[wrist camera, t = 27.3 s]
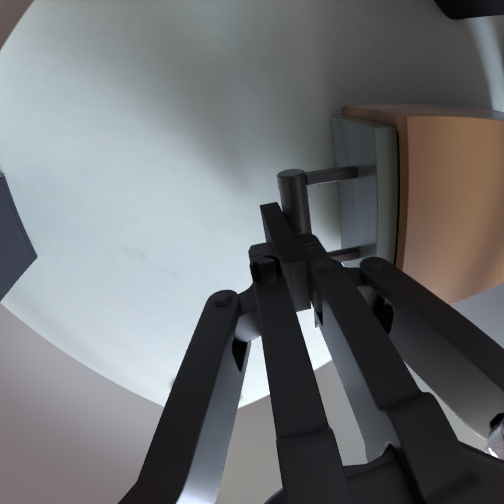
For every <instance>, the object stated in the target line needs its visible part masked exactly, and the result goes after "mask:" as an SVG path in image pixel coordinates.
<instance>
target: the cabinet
mask: <svg viewBox="0 0 504 504" xmlns="http://www.w3.org/2000/svg"><path fill="white" fill-rule="evenodd" d="M343 113H344V116H352V117H357V118H362V119H366V120H371V121H375V122H380V123H384V124H388V125H392V126H395V127H396V130H398V131H399V151H400V213H399V233H398V246H397V258H396V267H397V268H399V269H400V270H401V271H403V272H404V273H406V274H407V275H409V276H410V277H411V278H413V279H414V280H416V281H417V282H418V283H420V284H421V285H423V286H424V287H425V288H427V289H428V290H430V291H431V292H432V293H434V294H435V295H436V296H438V297H439V298H440V299H442V300H443V301H444V302H446V303H447V304H448V305H451V304H453V303H456V302H458V301H461V300H463V299H466V298H468V297H471V296H473V295H476V294H478V293H480V292H483V291H485V290H488V289H490V288H492V287H494V286H496V285H499V284H501V283H503V282H504V112H500V111H496V110H490V109H483V108H474V107H464V106H452V105H436V104H364V105H346V106H343ZM389 304H390V303H389Z"/></svg>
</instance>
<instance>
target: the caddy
mask: <svg viewBox="0 0 504 504" xmlns="http://www.w3.org/2000/svg"><path fill="white" fill-rule="evenodd" d="M36 258H37V255H36V253H35V251H34V249H33V247H32V245H31V242H30V240H29V238H28V236H27V234H26V231H25V229H24V227H23V224H22V222H21V220H20V217H19V215H18V212H17V210H16V207H15V205H14V202H13V199H12V196H11V194H10V191H9V188H8V185H7V182H6V179H5V176H4V177H2V178H0V301H1V300H2V299H3V298H4V296H5V295H6V294H7V292H8V291H9V290H10V289H11V287H12V286H13V285H14V284H15V283H16V281H17V280H18V279H19V278H20V277H21V275H22V274H23V273H24V272H25V271H26V270H27V268H28V267H29V266H30V265H31V264H32V263H33V262H34V260H36Z"/></svg>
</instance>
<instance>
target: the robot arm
mask: <svg viewBox="0 0 504 504" xmlns="http://www.w3.org/2000/svg"><path fill="white" fill-rule="evenodd" d="M260 210H261V215H262V220H263V226H264V231H265V237H266V243H261V244H256V245H252V246H251V247H250V249H249V251H248V253H249V259H250V270H251V275H252V279H253V283H252V285H251V286H250V287H249V288H248V289H247V290H246V291H244V292H242V293H240V294H237V293H236V292H235V291H232V290H221V291H218V292H216V293H214V294H212V295H211V296H210V297H209V298H208V300H207V302H206V304H205V307H204V309H203V312H202V314H201V316H200V319H199V321H198V324H197V326H196V329H195V331H194V334H193V336H192V339H191V341H190V344H189V346H188V349H187V351H186V354H185V356H184V359H183V361H182V364H181V366H180V369H179V371H178V374H177V376H176V379H175V382H174V384H173V387H172V389H171V392H170V394H169V397H168V400H167V402H166V405H165V407H164V410H163V413H162V415H161V418H160V421H159V423H158V426H157V429H156V431H155V434H154V436H153V440H152V442H151V445H150V447H149V450H148V453H147V455H146V458H145V461H144V464H143V466H142V469H141V472H140V475H139V478H138V480H137V482H136V483H135V485H134V486H133V487H132V488H131V489H130V490H129V492H128V493H127V494H126V495H125V496H124V497H123V498H122V499H121V501H120V502H119V503H118V504H215V501H216V498H217V495H218V491H219V486H220V482H221V478H222V473H223V470H224V465H225V461H226V457H227V452H228V447H229V444H230V439H231V435H232V430H233V426H234V421H235V417H236V412H237V408H238V403H239V399H240V394H241V390H242V385H243V380H244V376H245V371H246V366H247V362H248V357H249V352H250V348H251V340H253V339H255V338H257V337H259V336H261V338H262V344H263V351H264V358H265V364H266V371H267V377H268V384H269V391H270V397H271V404H272V410H273V416H274V423H275V429H276V438H277V439H276V444H277V452H278V459H279V466H280V473H281V479H282V486H283V488H281V489H280V490H279V491H277V492H276V493H275V494H274V495H272V496H271V497H270V498H269V499H268V500H267V502H265V504H504V349H503V348H502V347H501V346H500V345H499V344H497V343H496V342H495V341H494V340H493V339H491V338H490V337H489V336H488V335H486V334H485V333H484V332H483V331H482V330H480V329H479V328H478V327H477V326H475V325H474V324H473V323H472V322H470V321H469V320H468V319H467V318H465V317H464V316H463V315H461V314H460V313H459V312H458V311H456V310H455V309H454V308H452V307H451V306H450V305H448V304H447V303H446V302H444V301H443V300H442V299H440V298H439V297H438V296H436V295H435V294H434V293H432V292H431V291H430V290H428V289H427V288H425V287H424V286H423V285H421V284H420V283H418V282H417V281H416V280H414V279H413V278H411V277H410V276H409V275H407V274H406V273H404V272H403V271H401V270H400V269H399V268H397V267H396V266H394V265H393V264H391V263H390V262H388V261H387V260H385V259H383V258H381V257H376V256H373V257H367V258H364V259H363V260H361V262H360V264H359V267H352V268H349V267H343V266H342V264H341V263H340V262H339V261H338V260H336V259H333V258H330V257H329V255H328V253H327V252H326V250H325V249H324V247H323V246H322V244H321V243H320V241H319V240H318V238H317V237H316V236H315V235H313V234H311V233H306V234H301V235H296V236H295V234H294V233H293V231H292V229H291V227H290V225H289V223H288V221H287V219H286V217H285V216H284V215H283V212H282V210H281V208H280V206H279V204H278V203H277V202H275V203H269V204H264V205H260ZM310 300H311V302H310ZM386 301H388V302H389V303H390V304H389V303H387V302H386ZM311 303H312V305H313V308H314V317H315V328H316V327H318V325H319V328H320V330H321V332H322V335H323V337H324V340H325V342H326V344H327V347H328V349H329V352H330V354H331V357H332V359H333V362H334V364H335V366H336V369H337V372H338V374H339V377H340V379H341V382H342V384H343V387H344V389H345V392H346V395H347V397H348V400H349V402H350V405H351V407H352V410H353V413H354V415H355V418H356V421H357V423H358V426H359V429H360V431H361V434H362V436H363V439H364V443H365V449H366V457H367V461H368V463H367V464H362V465H350V466H343V465H342V461H341V457H340V454H339V450H338V446H337V442H336V439H335V436H334V433H333V430H332V429H331V428H330V427H329V424H328V421H327V417H326V414H325V410H324V407H323V403H322V399H321V396H320V393H319V389H318V385H317V382H316V378H315V375H314V371H313V368H312V364H311V361H310V358H309V354H308V351H307V347H306V344H305V341H304V337H303V334H302V331H301V327H300V324H299V321H298V317H297V314H296V312H298V311H302V310H307V309H311ZM404 362H405V363H406V364H407V365H408V366H409V367H410V368H411V369H412V370H413V371H414V372H415V373H416V374H417V375H418V376H419V377H420V378H421V379H422V380H423V381H424V382H425V383H426V384H427V385H428V386H429V387H430V388H431V389H432V390H433V391H434V392H435V393H436V394H437V395H438V396H439V397H440V399H442V401H443V402H444V403H445V404H446V405H447V406H448V407H449V408H450V409H451V410H452V411H453V412H454V413H455V414H456V415H457V416H458V417H459V419H461V421H462V422H463V423H464V424H465V425H466V426H468V427H469V428H470V429H471V430H472V431H473V432H474V433H476V434H477V435H479V436H480V437H482V438H484V439H485V440H487V441H488V443H487V445H486V448H485V452H483V451H481V450H478V449H476V448H474V447H472V446H469V445H467V444H465V443H462V442H460V441H458V439H457V437H456V435H455V433H454V431H453V429H452V427H451V425H450V423H449V421H448V419H447V418H446V416H445V414H444V412H443V410H442V408H441V406H440V405H439V403H438V401H437V400H436V398H435V397H434V395H432V394H431V393H429V392H422V391H421V390H420V389H419V388H418V386H417V384H416V382H415V381H414V379H413V377H412V375H411V374H410V372H409V370H408V368H407V367H406V365H405V363H404Z"/></svg>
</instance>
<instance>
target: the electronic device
mask: <svg viewBox="0 0 504 504" xmlns="http://www.w3.org/2000/svg"><path fill="white" fill-rule="evenodd" d="M435 2H436V3H437V4H438V6H439V7H440V8H441V10H442V11H443V12H444V13H445V14H446V16H448V17H449V18H451V19H454V20H459V19H466V18H474V17H483V16H495V15H504V0H435Z"/></svg>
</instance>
